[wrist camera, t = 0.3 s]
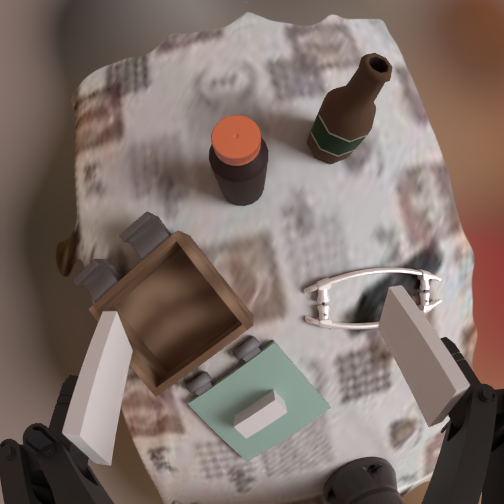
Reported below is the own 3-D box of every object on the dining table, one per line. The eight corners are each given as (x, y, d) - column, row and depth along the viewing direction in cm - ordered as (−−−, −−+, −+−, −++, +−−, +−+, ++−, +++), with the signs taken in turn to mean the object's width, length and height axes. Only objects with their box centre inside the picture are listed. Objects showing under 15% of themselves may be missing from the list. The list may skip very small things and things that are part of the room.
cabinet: (253, 315, 48) (253, 328, 38) (169, 377, 47) (151, 401, 37) (174, 215, 48) (155, 203, 38) (97, 283, 48) (66, 287, 38)
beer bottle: (325, 115, 49) (367, 27, 25) (358, 145, 49) (423, 72, 25) (296, 143, 49) (327, 57, 25) (331, 174, 48) (390, 108, 24)
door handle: (435, 315, 48) (305, 334, 48) (434, 262, 48) (302, 273, 48) (442, 317, 45) (308, 338, 45) (442, 262, 46) (305, 274, 46)
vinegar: (253, 159, 49) (252, 97, 29) (271, 195, 48) (282, 151, 28) (214, 176, 49) (191, 123, 29) (232, 213, 48) (217, 180, 28)
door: (328, 403, 47) (336, 418, 42) (247, 456, 47) (246, 474, 41) (263, 327, 48) (264, 335, 42) (178, 388, 47) (171, 402, 42)
